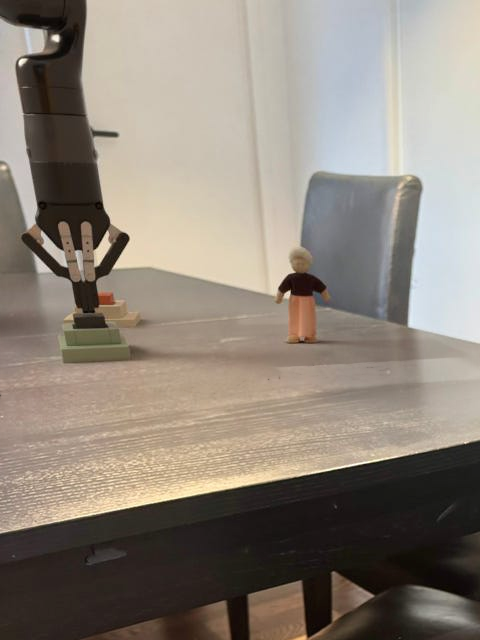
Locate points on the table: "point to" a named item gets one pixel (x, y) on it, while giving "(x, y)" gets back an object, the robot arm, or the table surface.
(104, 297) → the key back
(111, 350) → the green stepped pyramid
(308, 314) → the grandmother figurine
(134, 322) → the beige stepped base
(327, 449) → the table surface
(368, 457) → the table surface
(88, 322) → the key front
